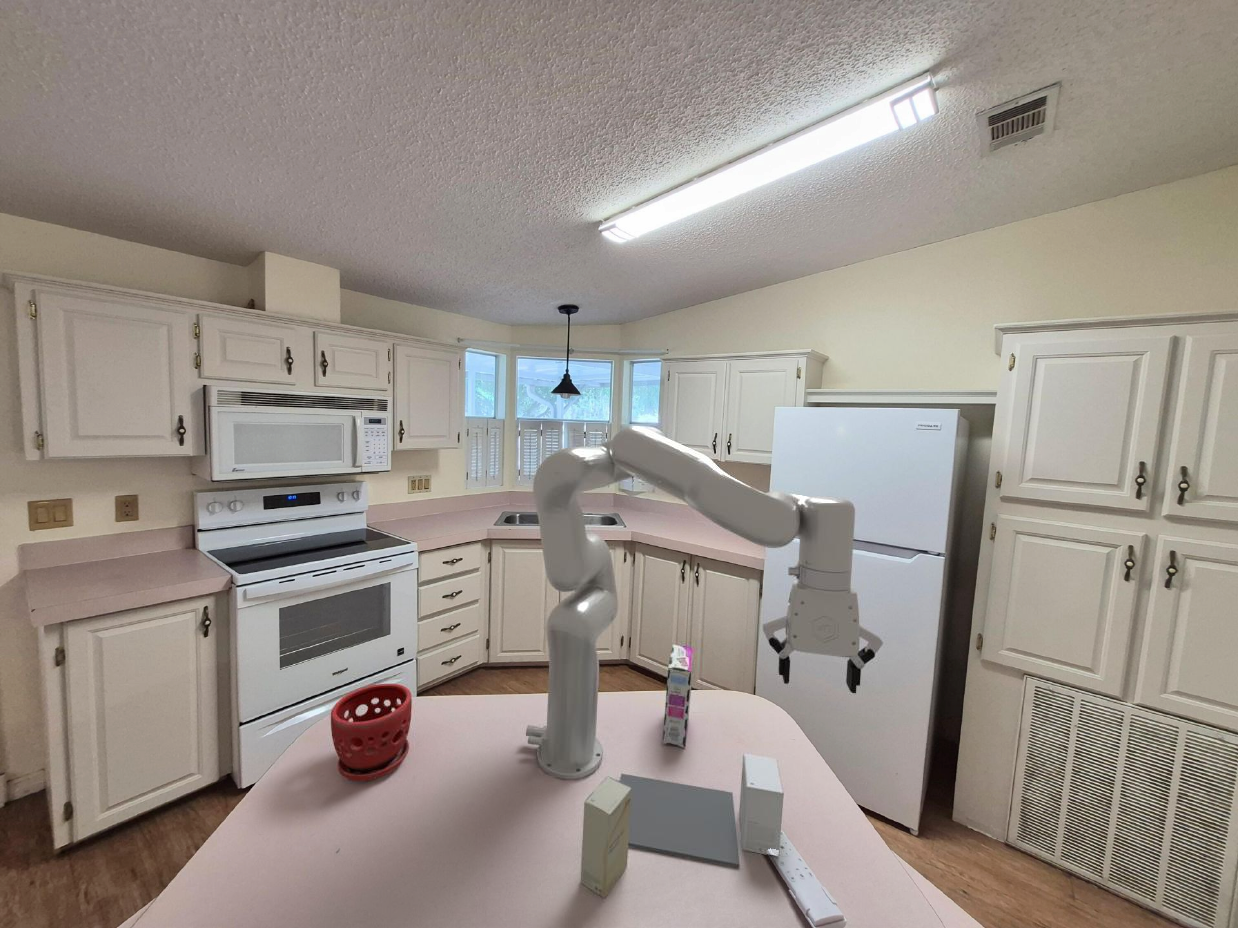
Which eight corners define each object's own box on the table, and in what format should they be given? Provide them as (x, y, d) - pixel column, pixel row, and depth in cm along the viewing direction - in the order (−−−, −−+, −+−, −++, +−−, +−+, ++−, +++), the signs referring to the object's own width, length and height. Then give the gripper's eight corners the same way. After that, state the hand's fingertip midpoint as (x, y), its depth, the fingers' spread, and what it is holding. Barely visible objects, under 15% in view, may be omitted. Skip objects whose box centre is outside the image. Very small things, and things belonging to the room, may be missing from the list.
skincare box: (604, 899, 64) (609, 816, 63) (578, 881, 66) (582, 801, 65) (628, 864, 69) (633, 787, 68) (603, 848, 72) (607, 774, 71)
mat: (607, 842, 73) (607, 838, 73) (621, 776, 87) (621, 773, 87) (739, 867, 70) (739, 864, 70) (732, 795, 84) (732, 792, 83)
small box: (778, 859, 72) (784, 794, 71) (741, 850, 73) (746, 786, 72) (772, 816, 79) (777, 757, 79) (738, 809, 81) (743, 751, 80)
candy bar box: (686, 749, 95) (692, 671, 94) (661, 744, 96) (666, 667, 95) (689, 716, 106) (694, 646, 105) (667, 712, 107) (671, 643, 105)
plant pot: (409, 732, 96) (410, 675, 95) (411, 777, 84) (413, 713, 83) (335, 748, 90) (335, 688, 89) (326, 799, 78) (326, 730, 77)
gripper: (767, 579, 71) (761, 688, 72) (894, 590, 67) (886, 706, 68) (763, 565, 78) (758, 664, 79) (877, 575, 74) (870, 679, 76)
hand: (817, 683), depth 74 cm, fingers open, 9 cm apart
